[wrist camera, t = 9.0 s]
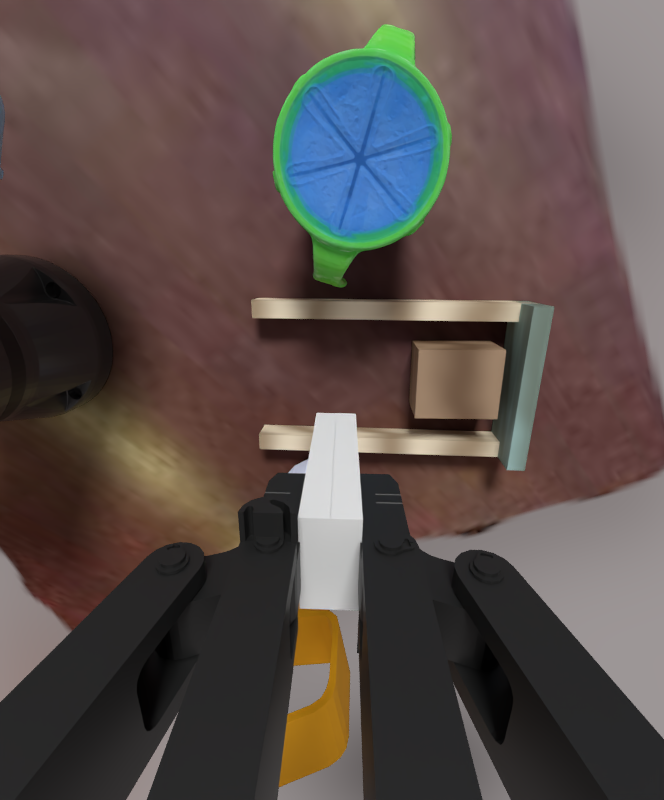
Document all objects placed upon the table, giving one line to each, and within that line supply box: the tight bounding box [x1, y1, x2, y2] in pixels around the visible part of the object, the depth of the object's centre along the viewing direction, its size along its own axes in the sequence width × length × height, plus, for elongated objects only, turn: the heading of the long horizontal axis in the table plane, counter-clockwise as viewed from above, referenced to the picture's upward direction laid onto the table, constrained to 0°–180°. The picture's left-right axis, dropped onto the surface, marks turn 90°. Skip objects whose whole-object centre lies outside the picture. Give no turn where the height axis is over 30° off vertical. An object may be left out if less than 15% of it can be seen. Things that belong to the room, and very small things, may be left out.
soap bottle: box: [279, 459, 350, 787], centre depth 31 cm, size 9×9×25 cm
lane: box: [251, 298, 554, 471], centre depth 36 cm, size 24×14×5 cm, turn 90°
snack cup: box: [273, 24, 452, 288], centre depth 28 cm, size 16×10×10 cm
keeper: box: [409, 341, 506, 419], centre depth 36 cm, size 7×6×4 cm
